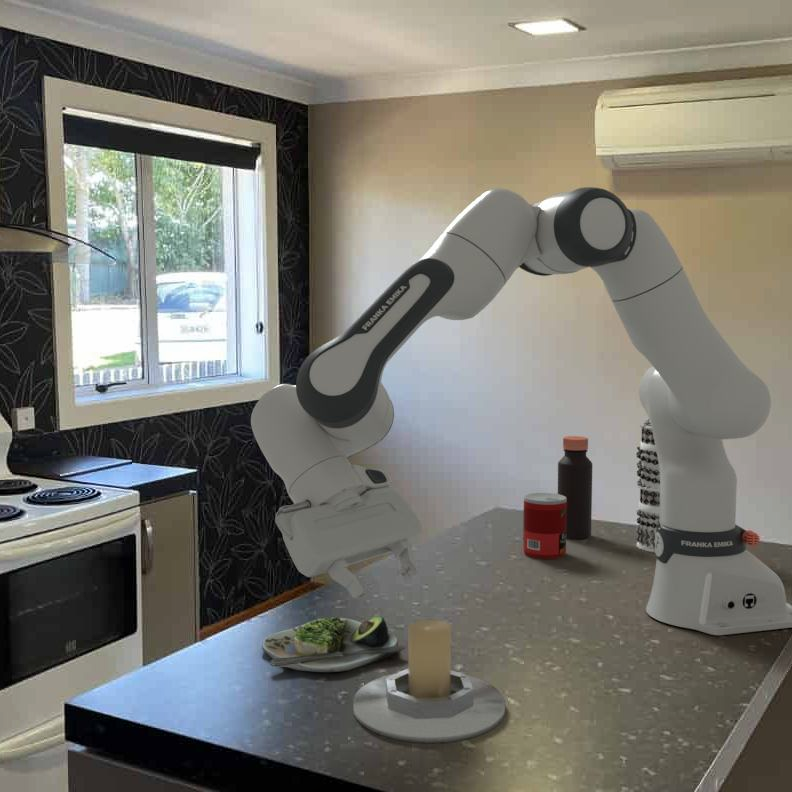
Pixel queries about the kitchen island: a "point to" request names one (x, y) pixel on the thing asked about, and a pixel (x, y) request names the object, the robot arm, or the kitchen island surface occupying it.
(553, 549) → the canned food
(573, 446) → the bottle
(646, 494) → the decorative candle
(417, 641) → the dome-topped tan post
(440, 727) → the collar
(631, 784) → the kitchen island surface
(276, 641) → the salad plate
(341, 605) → the kitchen island surface
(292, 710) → the kitchen island surface
